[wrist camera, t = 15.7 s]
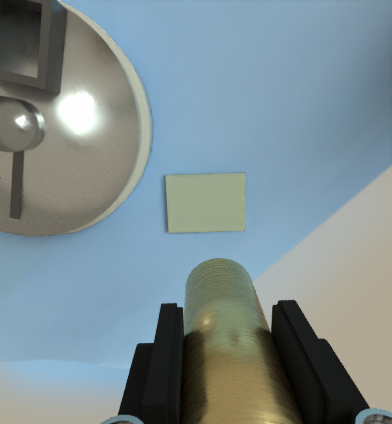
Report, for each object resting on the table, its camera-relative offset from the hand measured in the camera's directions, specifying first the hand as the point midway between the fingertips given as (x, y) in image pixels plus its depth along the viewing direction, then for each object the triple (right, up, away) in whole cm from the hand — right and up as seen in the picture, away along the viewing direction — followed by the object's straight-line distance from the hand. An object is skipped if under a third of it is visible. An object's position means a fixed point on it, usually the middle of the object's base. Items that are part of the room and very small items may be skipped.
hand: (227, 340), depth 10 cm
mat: (0, +6, +20) cm, 21 cm away
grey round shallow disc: (-15, +12, +15) cm, 24 cm away
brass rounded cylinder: (0, +1, +4) cm, 4 cm away
